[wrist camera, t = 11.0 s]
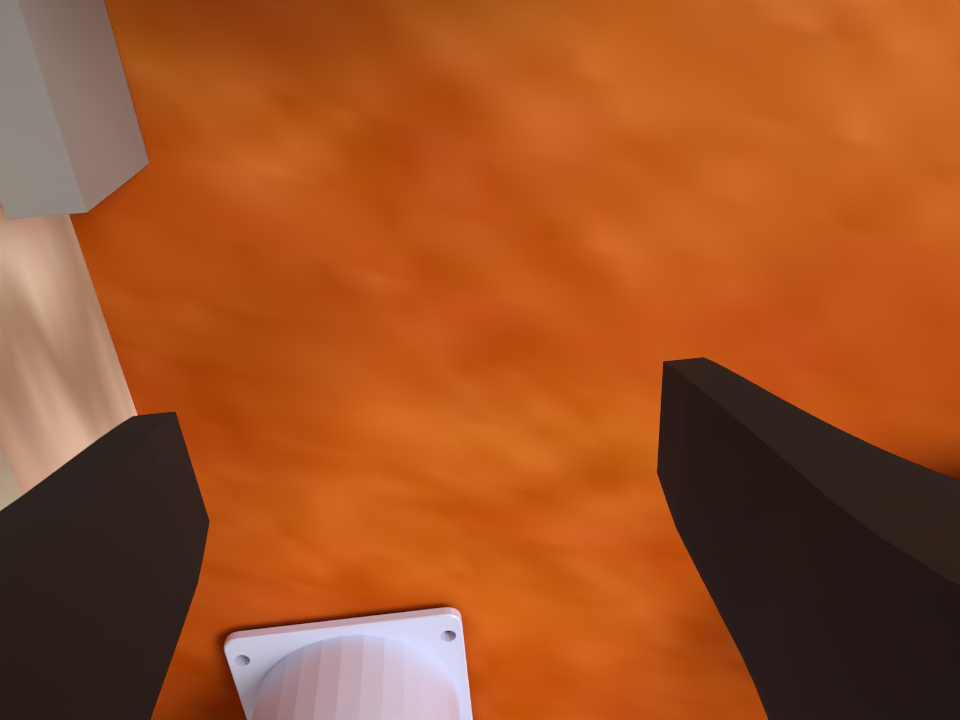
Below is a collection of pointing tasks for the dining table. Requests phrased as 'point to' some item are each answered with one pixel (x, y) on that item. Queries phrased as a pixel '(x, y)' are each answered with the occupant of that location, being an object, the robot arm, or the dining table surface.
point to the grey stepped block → (63, 109)
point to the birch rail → (51, 354)
